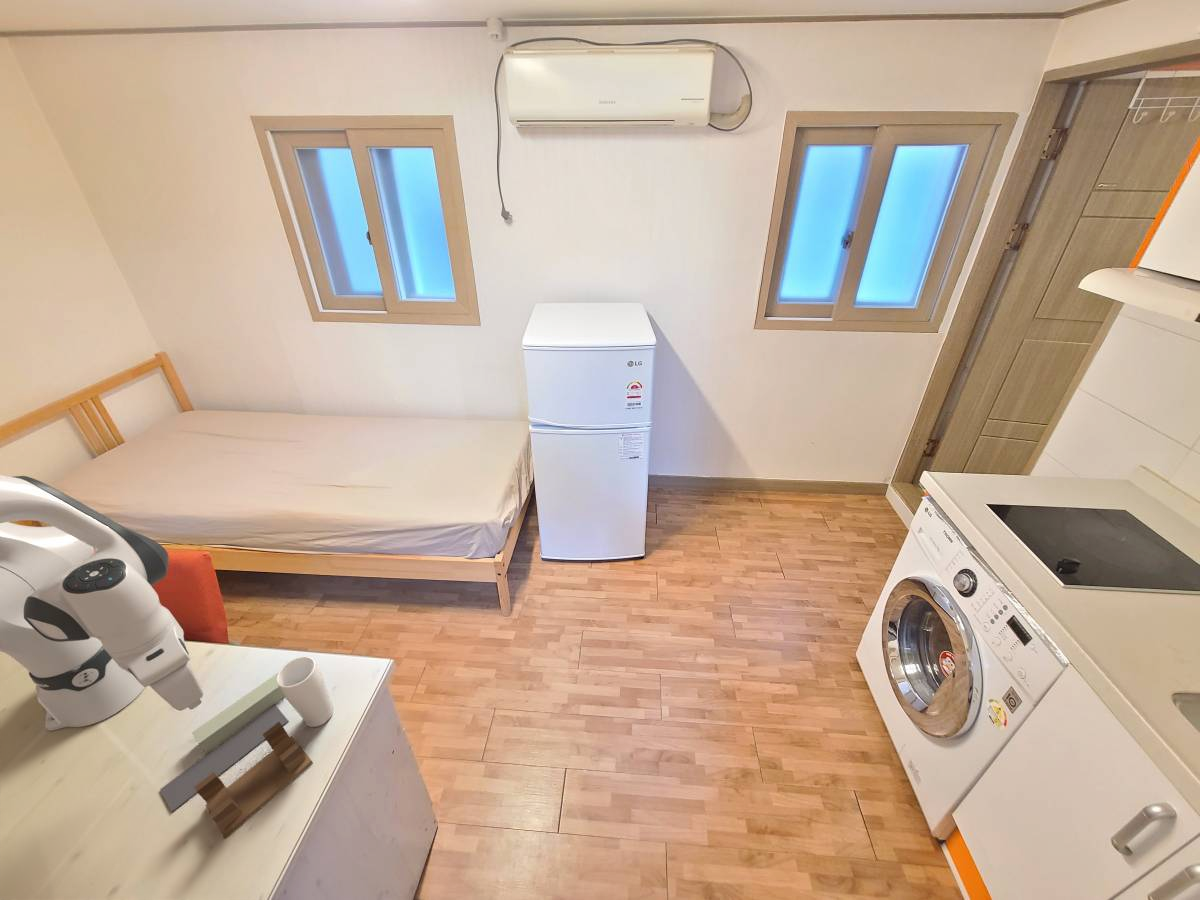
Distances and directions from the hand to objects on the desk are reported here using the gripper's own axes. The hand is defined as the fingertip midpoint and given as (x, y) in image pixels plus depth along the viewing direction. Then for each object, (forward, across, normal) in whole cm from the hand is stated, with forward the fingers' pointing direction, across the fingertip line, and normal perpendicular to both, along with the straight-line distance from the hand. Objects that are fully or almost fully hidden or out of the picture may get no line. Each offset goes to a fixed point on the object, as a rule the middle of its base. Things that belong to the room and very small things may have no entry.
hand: (185, 689), depth 89 cm
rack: (+16, +16, +1) cm, 22 cm away
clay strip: (+16, 0, +5) cm, 17 cm away
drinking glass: (+16, +12, +14) cm, 24 cm away
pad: (+16, +5, -1) cm, 17 cm away
